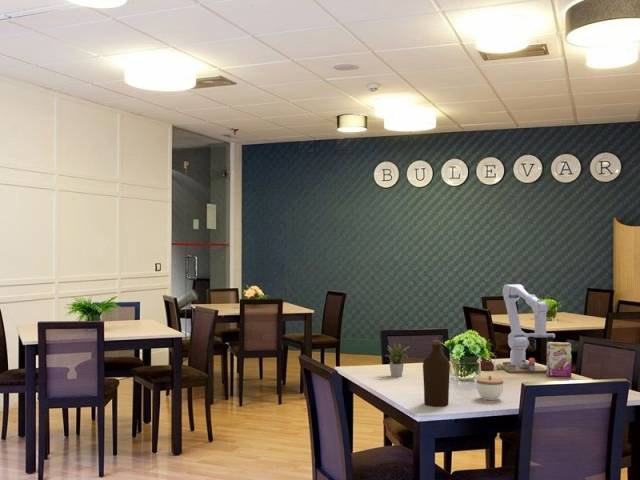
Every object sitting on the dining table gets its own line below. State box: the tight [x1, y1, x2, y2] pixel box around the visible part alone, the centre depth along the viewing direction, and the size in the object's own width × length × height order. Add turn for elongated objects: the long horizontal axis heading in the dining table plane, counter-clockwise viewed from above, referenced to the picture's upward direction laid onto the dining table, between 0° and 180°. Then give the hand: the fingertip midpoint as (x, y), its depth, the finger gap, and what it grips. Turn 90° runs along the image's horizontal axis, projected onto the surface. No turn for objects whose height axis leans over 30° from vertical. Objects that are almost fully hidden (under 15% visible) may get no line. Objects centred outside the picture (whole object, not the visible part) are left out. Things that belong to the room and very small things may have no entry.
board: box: [500, 361, 547, 374], centre depth 364 cm, size 15×20×4 cm
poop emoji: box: [480, 358, 496, 372], centre depth 367 cm, size 10×8×9 cm
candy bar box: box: [546, 341, 573, 378], centre depth 348 cm, size 11×5×16 cm, turn 84°
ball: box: [495, 363, 503, 370], centre depth 367 cm, size 3×3×3 cm
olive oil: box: [422, 339, 451, 407], centre depth 279 cm, size 11×11×25 cm
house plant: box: [384, 342, 411, 378], centre depth 344 cm, size 14×14×16 cm
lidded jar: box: [476, 375, 504, 401], centre depth 290 cm, size 11×11×9 cm
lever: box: [520, 357, 536, 371], centre depth 362 cm, size 16×5×6 cm, turn 1°
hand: (540, 351), depth 364 cm, fingers open, 7 cm apart
